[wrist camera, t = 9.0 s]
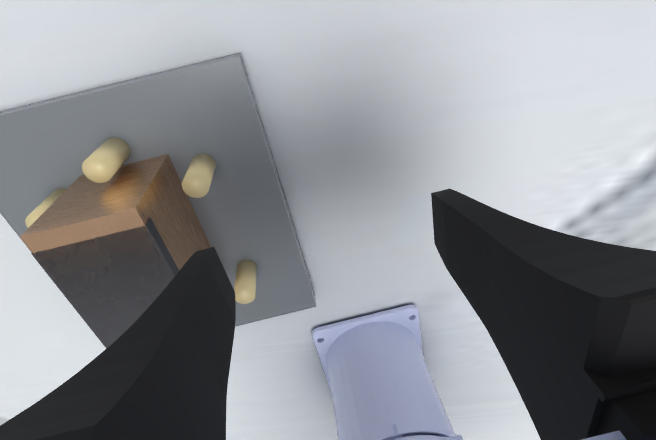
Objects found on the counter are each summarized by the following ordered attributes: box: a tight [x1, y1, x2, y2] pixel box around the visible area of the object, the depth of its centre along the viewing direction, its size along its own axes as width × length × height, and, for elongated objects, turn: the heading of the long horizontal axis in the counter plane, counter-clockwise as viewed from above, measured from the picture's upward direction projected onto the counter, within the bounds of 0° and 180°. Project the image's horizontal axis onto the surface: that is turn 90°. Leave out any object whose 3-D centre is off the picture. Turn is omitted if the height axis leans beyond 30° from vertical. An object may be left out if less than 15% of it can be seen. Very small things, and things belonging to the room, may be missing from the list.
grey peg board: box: [0, 53, 316, 326], centre depth 21 cm, size 16×14×4 cm
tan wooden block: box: [20, 154, 211, 348], centre depth 19 cm, size 8×5×6 cm, turn 12°
